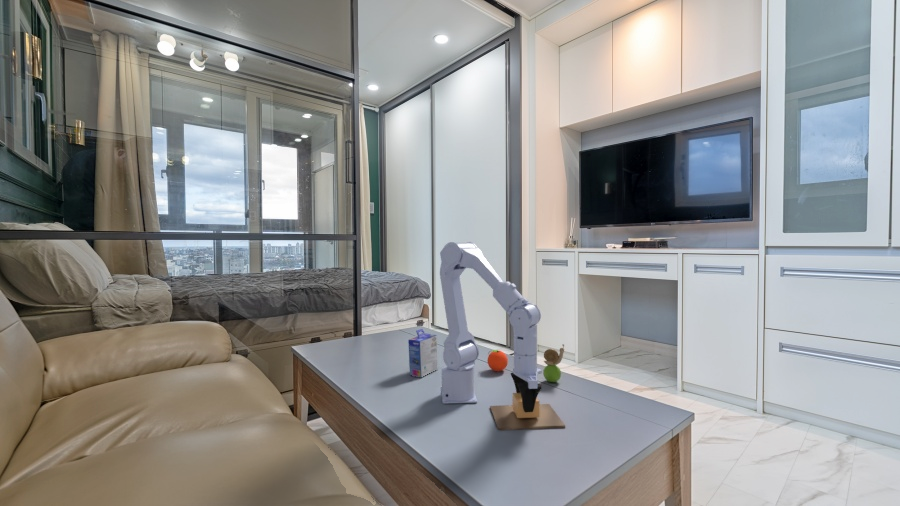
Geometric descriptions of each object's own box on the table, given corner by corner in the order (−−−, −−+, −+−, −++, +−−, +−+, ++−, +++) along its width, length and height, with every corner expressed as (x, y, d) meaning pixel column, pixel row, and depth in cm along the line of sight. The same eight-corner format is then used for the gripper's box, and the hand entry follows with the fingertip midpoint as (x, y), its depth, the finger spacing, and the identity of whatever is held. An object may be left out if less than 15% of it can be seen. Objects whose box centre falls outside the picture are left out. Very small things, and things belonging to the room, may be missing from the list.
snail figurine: (565, 385, 115) (565, 346, 115) (543, 384, 117) (543, 345, 116) (563, 379, 121) (563, 342, 120) (542, 378, 122) (542, 341, 122)
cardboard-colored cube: (517, 418, 92) (517, 401, 92) (512, 408, 97) (512, 393, 97) (539, 417, 92) (539, 401, 92) (533, 407, 98) (533, 392, 98)
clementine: (481, 370, 130) (480, 349, 130) (494, 365, 135) (494, 345, 135) (498, 375, 124) (498, 354, 124) (512, 371, 129) (511, 350, 129)
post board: (498, 430, 88) (498, 417, 88) (490, 407, 100) (490, 396, 100) (565, 427, 89) (565, 415, 89) (549, 405, 101) (549, 394, 101)
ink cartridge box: (425, 367, 134) (425, 326, 134) (438, 369, 131) (438, 328, 131) (408, 375, 126) (407, 332, 125) (421, 378, 123) (420, 334, 122)
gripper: (550, 361, 87) (550, 419, 88) (533, 344, 102) (533, 394, 102) (520, 362, 87) (520, 420, 87) (507, 345, 101) (507, 395, 102)
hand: (525, 406), depth 95 cm, fingers closed on cardboard-colored cube, 5 cm apart
